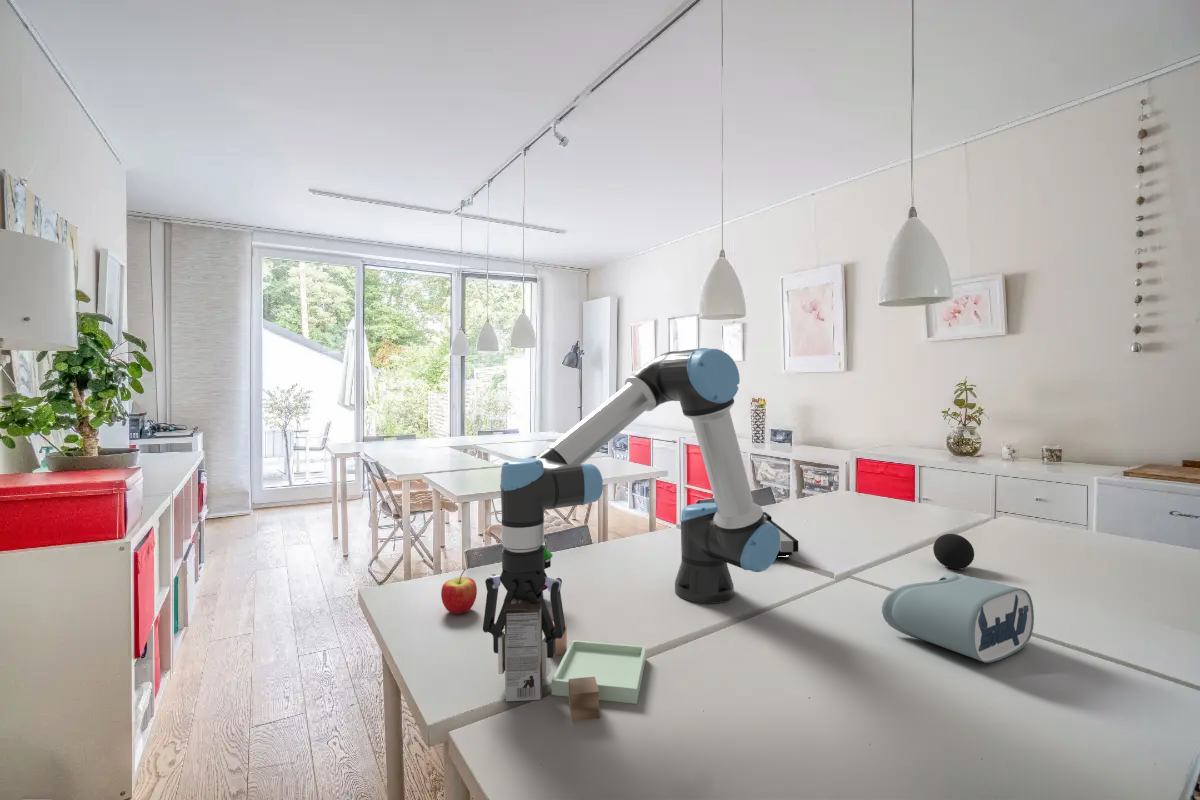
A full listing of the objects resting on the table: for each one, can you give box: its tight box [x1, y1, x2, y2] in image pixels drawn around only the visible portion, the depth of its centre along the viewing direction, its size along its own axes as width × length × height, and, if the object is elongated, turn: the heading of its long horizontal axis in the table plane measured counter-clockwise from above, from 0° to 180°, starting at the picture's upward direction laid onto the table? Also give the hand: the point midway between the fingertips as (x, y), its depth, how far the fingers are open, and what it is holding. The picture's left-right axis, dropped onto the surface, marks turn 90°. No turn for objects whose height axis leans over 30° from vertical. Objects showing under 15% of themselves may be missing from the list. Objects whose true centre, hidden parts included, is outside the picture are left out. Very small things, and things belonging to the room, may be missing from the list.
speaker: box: [932, 533, 975, 570], centre depth 155 cm, size 10×10×10 cm
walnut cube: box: [568, 677, 600, 722], centre depth 88 cm, size 4×4×4 cm
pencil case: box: [881, 572, 1035, 664], centre depth 112 cm, size 22×19×13 cm
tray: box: [551, 639, 647, 705], centre depth 99 cm, size 15×15×3 cm
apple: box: [440, 568, 478, 615], centre depth 127 cm, size 8×8×10 cm
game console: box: [763, 511, 799, 559], centre depth 177 cm, size 21×32×8 cm, turn 0°
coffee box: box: [504, 590, 543, 702], centre depth 95 cm, size 9×6×16 cm
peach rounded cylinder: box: [552, 621, 568, 657], centre depth 108 cm, size 4×4×5 cm
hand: (524, 672), depth 95 cm, fingers closed on coffee box, 7 cm apart
